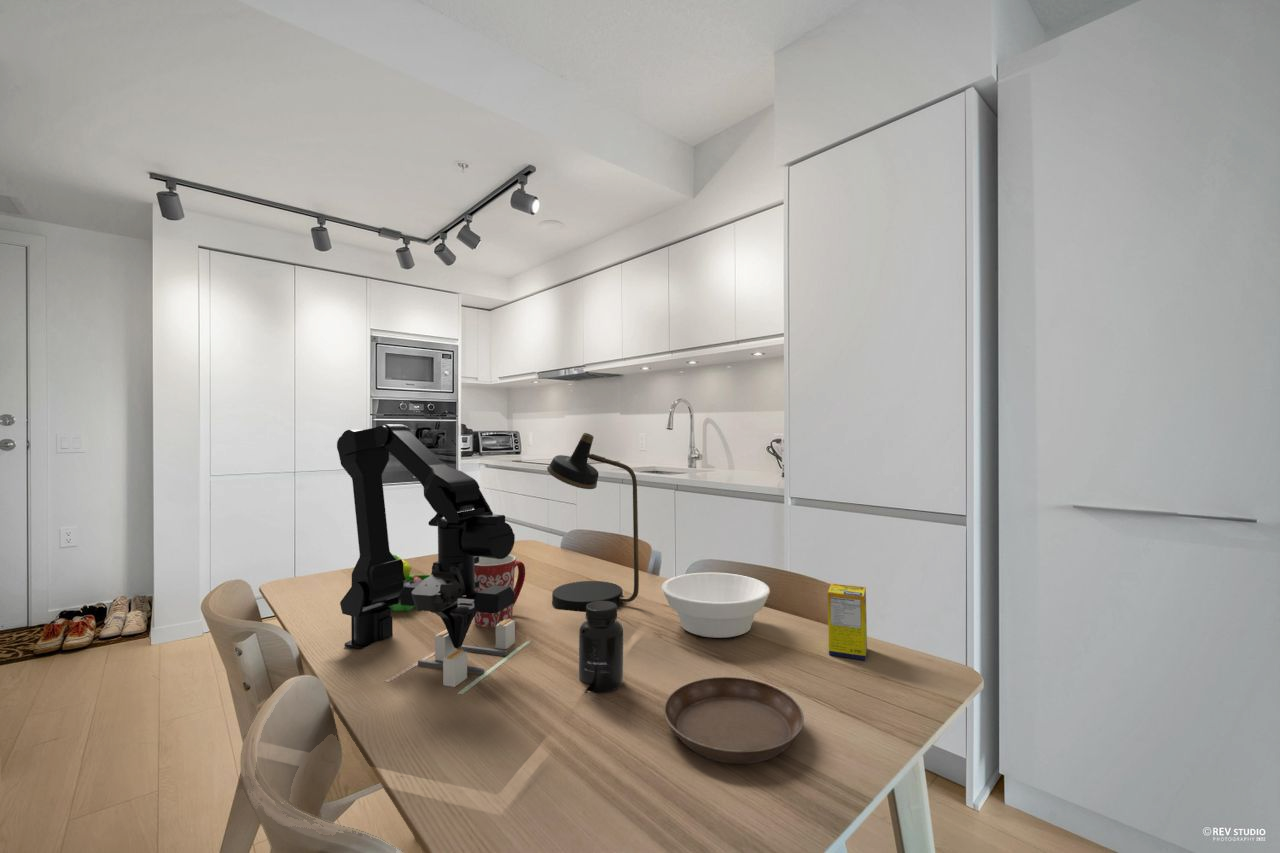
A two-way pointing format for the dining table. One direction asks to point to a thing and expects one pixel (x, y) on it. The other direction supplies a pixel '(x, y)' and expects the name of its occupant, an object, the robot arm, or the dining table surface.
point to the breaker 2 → (505, 634)
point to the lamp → (586, 477)
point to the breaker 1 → (455, 668)
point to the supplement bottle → (601, 648)
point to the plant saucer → (734, 719)
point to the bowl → (715, 602)
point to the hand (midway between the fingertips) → (457, 647)
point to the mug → (499, 575)
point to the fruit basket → (409, 580)
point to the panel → (469, 669)
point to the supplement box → (847, 621)
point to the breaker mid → (443, 645)
